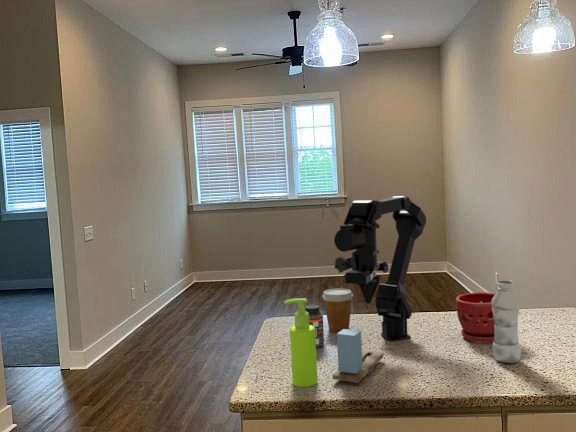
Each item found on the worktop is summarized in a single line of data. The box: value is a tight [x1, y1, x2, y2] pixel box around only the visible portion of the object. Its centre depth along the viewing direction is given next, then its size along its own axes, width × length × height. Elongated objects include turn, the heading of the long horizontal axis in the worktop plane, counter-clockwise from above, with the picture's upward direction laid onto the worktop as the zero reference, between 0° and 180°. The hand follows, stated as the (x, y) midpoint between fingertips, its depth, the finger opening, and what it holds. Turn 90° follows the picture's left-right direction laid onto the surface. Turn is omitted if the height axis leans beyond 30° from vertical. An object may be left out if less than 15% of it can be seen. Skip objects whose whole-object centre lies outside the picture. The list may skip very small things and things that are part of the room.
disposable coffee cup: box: [321, 288, 354, 333], centre depth 163 cm, size 10×10×12 cm
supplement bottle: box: [305, 304, 325, 349], centre depth 149 cm, size 6×6×11 cm
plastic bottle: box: [491, 280, 522, 364], centre depth 129 cm, size 6×7×20 cm
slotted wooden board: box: [332, 349, 384, 384], centre depth 128 cm, size 18×6×2 cm, turn 151°
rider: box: [336, 328, 363, 375], centre depth 122 cm, size 4×4×10 cm
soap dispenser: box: [283, 297, 318, 388], centre depth 122 cm, size 6×7×20 cm
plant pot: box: [455, 292, 496, 344], centre depth 147 cm, size 13×13×12 cm
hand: (368, 303), depth 142 cm, fingers closed
